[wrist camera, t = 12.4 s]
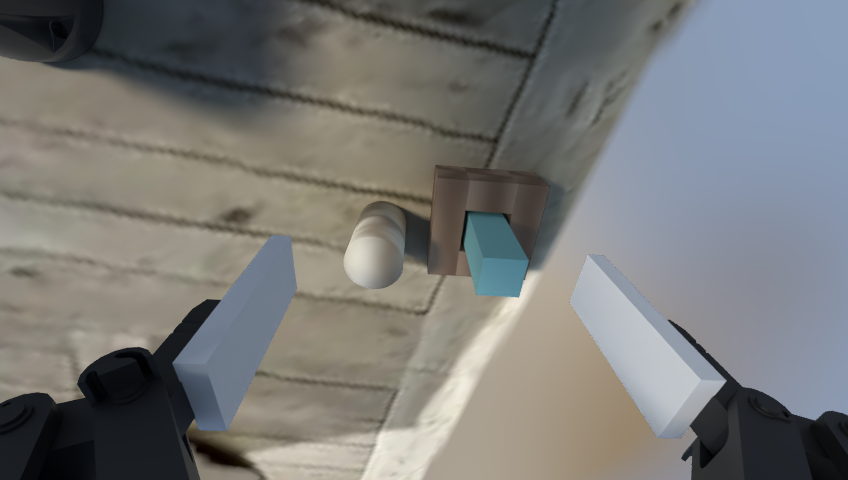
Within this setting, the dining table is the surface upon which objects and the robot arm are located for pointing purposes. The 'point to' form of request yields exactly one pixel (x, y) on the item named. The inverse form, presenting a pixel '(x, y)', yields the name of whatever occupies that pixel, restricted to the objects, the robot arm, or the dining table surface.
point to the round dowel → (377, 246)
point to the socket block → (486, 193)
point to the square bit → (493, 254)
